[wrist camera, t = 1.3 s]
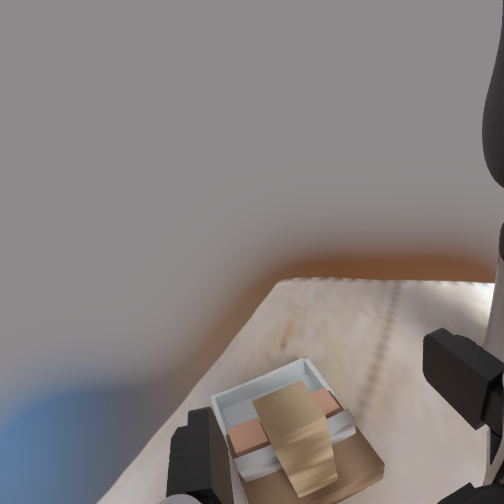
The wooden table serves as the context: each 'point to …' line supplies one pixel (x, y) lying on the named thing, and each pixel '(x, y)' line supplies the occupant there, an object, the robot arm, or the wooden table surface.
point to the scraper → (297, 439)
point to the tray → (262, 392)
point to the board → (324, 500)
